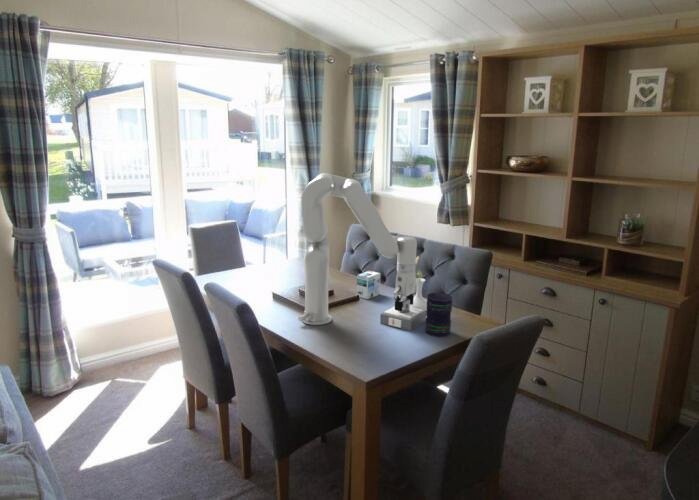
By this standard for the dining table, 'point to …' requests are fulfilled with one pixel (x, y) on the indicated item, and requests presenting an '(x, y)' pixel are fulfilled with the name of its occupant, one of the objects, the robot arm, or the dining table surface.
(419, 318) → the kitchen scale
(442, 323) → the storage jar
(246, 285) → the dining table surface
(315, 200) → the robot arm
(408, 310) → the steel weight
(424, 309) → the flower in vase
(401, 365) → the dining table surface
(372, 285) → the light bulb box
